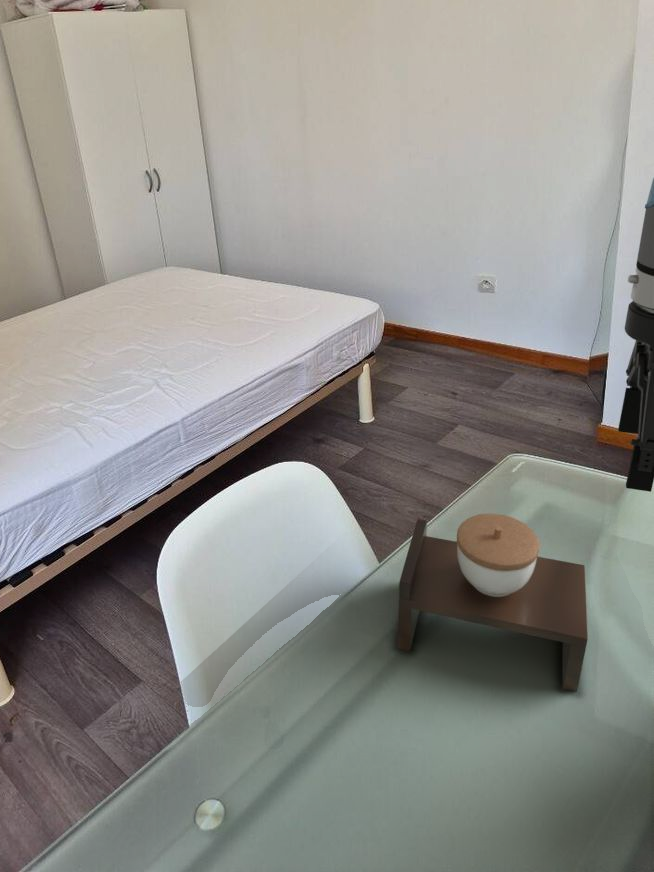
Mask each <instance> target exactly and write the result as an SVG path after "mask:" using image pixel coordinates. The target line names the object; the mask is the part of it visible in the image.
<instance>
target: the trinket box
mask: <svg viewBox="0 0 654 872" xmlns="http://www.w3.org/2000/svg"><path fill="white" fill-rule="evenodd" d="M456 531H457V533H456V542H457V557H458V562H459V566H460V569H461V571H462V573H463V575H464V576H465V578H466V579H467V580H468V581H469V582H470V583H471V584H472V585H473V586H474V587H475V588H476V589H477V590H478V591H480V592H481V593H483V594H486V595H489V596H493V597H503V596H507V595H509V594H511V593H514V592H516V591H518V590H519V589H521V588H522V587H523V586H524V585H525V584H526V583H527V582H528V581H529V579H530V578H531V576H532V574H533V571H534V568H535V565H536V561H537V557H539V556H538V555H539V554H540V541H539V537H538V536H537V534H536V532H535V531H534V530H533V529H532V527H530V526H529V525H527V524H526V523H524V522H523V521H521V520H519V519H516V518H515V517H512V516H509V515H505V514H500V513H481V514H480V513H479V514H476V515H472V516H470V517H468V518H467V519H465V520H463V522H462V523H461V524H460V525H459V526H458V528H457V530H456Z"/></svg>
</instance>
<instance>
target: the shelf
mask: <svg viewBox="0 0 654 872" xmlns="http://www.w3.org/2000/svg"><path fill="white" fill-rule="evenodd" d="M427 531H428V520H426V519H420V518H417V519H416V522H415V526H414V529H413V533H412V536H411V540H410V543H409V547H408V549H407V550H408V551H407V554H406V557H405V561H404V564H403V568H402V571H401V575H400V577H399V583H398V584H399V585H398V612H397V613H398V614H397V615H398V616H397V646H396V647H397V650H401V651H405V652H411V648H412V645H413V641H414V635H415V632H416V627H417V623H418V619H419V615H420V612H424V613H428V614H432V615H438V616H441V617H446V618H451V619H456V620H461V621H463V622H464V621H465V622H470V623H473V624H477V625H478V624H479V625H483V626H487V627H492V628H496V629H501V630H506V631H511V632H515V633H519V634H524V635H529V636H533V637H538V638H543V639H547V640H551V641H555V642H560V643H562V689H563V690H566V691H567V690H568V691H571V692H575V693H577V692H578V690H579V684H580V679H581V676H582V675H581V674H582V669H583V664H584V661H585V660H584V659H585V654H586V650H587V644H588V640H589V636H588V615H587V614H588V612H587V611H588V609H587V590H586V589H587V588H586V566H585V564H580V563H575V562H569V561H564V560H558V559H553V558H548V557H542V556H537V561H536V565H535V568H534V571H533V574H532V576H531V578H530V579H529V581H528V582H527V583H526V584H525V585H524V586H523V587H522V588H521V589H519V590H518V591H516V592H514V593H511V594H509V595H507V596H503V597H493V596H489V595H486V594H483V593H481V592H480V591H478V590H477V589H476V588H475V587H474V586H473V585H472V584H471V583H470V582H469V581H468V580H467V579H466V578H465V576H464V575H463V573H462V571H461V569H460V566H459V562H458V557H457V540H456V541H455V540H451V539H444V538H439V537H434V536H428V535H427Z"/></svg>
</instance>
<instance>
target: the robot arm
mask: <svg viewBox="0 0 654 872" xmlns="http://www.w3.org/2000/svg"><path fill="white" fill-rule="evenodd" d="M644 209H645V211H644V217H643V223H642V229H641V234H640V240H639V246H638V252H637V258H636V265H635V266H636V267H635V273H636V274H629V275H628V277H627V282H628V283H629V284H632V288H631V293H630V299H631V302H629V304H628V307H627V312H626V316H625V323H624V332H625V333H626V335H627V336H628V337H630V338H631V339H632V340H634V345H633V348H632V352H631V355H630V359H629V361H628V365H627V368H626V369H625V373H626V376H627V378H626V381H625V383H626V386H628V387H625V392H624V396H623V402H622V407H621V412H620V417H619V422H618V428H617V430H618V432H619V433H626V434H627V433H628V434H634V435H637V438H632V439H630V443H629V445H630V446H633V448H632V453H631V458H630V462H629V467H628V472H627V477H626V481H625V488H626V489H629V490H637V491H642V492H650V493H651V492H652V489H653V485H654V177H653V178H652V181H651V185H650V189H649V193H648V196H647V201H646V203H645V204H644Z"/></svg>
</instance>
